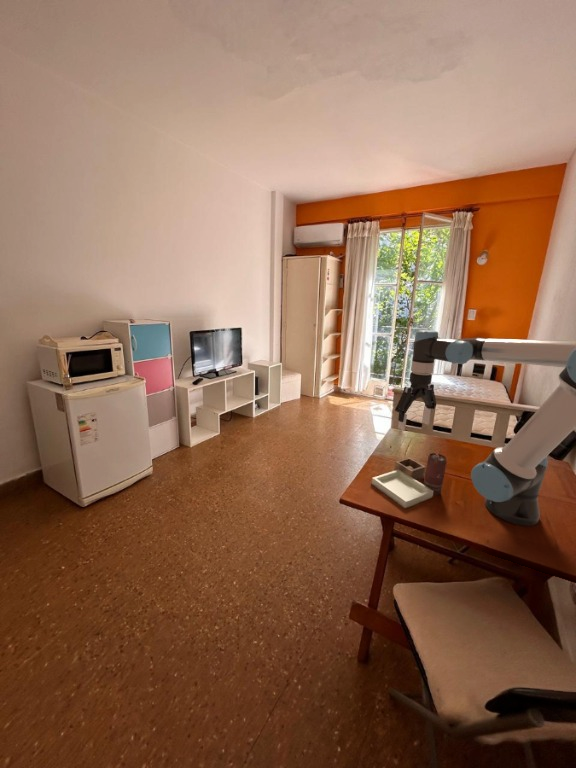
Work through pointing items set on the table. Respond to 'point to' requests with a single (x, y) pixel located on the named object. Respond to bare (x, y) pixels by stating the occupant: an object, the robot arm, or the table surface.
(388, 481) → the tray
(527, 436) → the robot arm
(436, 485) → the can
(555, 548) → the table surface
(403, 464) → the square wooden box
